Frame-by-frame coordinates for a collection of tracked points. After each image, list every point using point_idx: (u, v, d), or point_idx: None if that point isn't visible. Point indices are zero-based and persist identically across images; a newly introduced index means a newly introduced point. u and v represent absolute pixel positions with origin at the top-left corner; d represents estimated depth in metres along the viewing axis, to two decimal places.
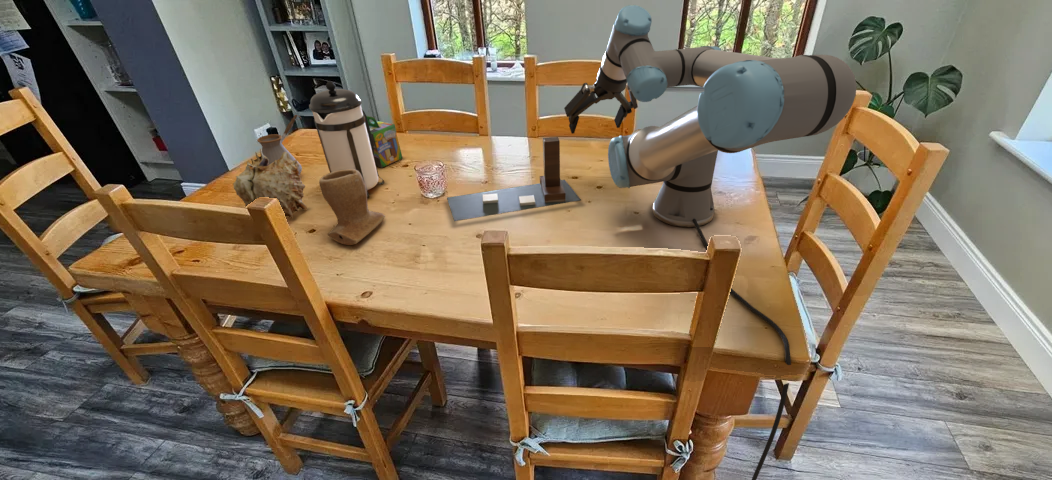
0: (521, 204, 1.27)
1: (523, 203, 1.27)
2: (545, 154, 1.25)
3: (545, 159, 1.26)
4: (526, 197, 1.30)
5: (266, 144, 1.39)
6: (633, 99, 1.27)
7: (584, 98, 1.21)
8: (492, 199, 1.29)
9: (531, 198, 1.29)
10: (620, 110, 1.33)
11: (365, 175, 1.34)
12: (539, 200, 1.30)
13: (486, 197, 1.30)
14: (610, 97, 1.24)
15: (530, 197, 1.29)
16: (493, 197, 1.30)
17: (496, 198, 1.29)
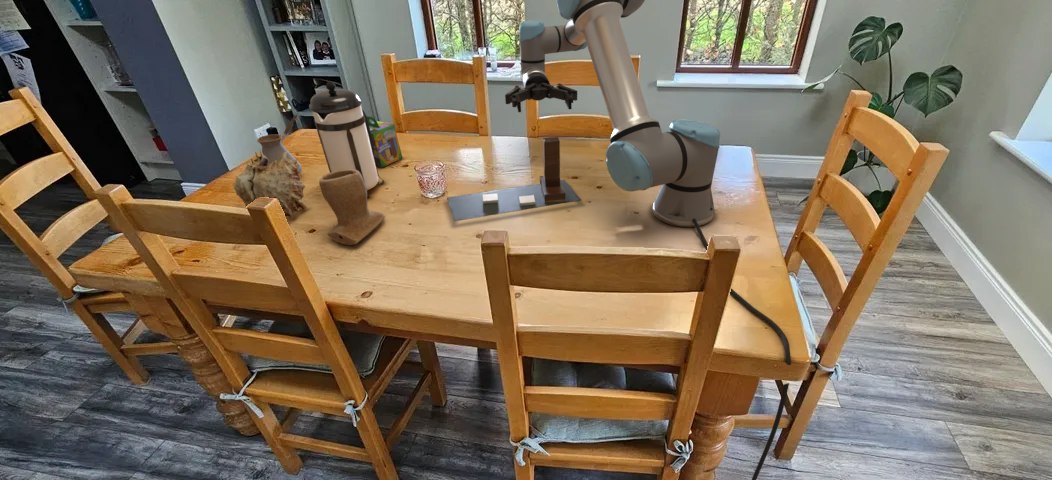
0: (521, 204, 1.27)
1: (523, 203, 1.27)
2: (545, 154, 1.25)
3: (545, 159, 1.26)
4: (526, 197, 1.30)
5: (266, 144, 1.39)
6: (567, 88, 1.38)
7: (516, 88, 1.39)
8: (492, 199, 1.29)
9: (531, 198, 1.29)
10: (565, 100, 1.34)
11: (365, 175, 1.34)
12: (539, 200, 1.30)
13: (486, 197, 1.30)
14: (542, 88, 1.39)
15: (530, 197, 1.29)
16: (493, 197, 1.30)
17: (496, 198, 1.29)
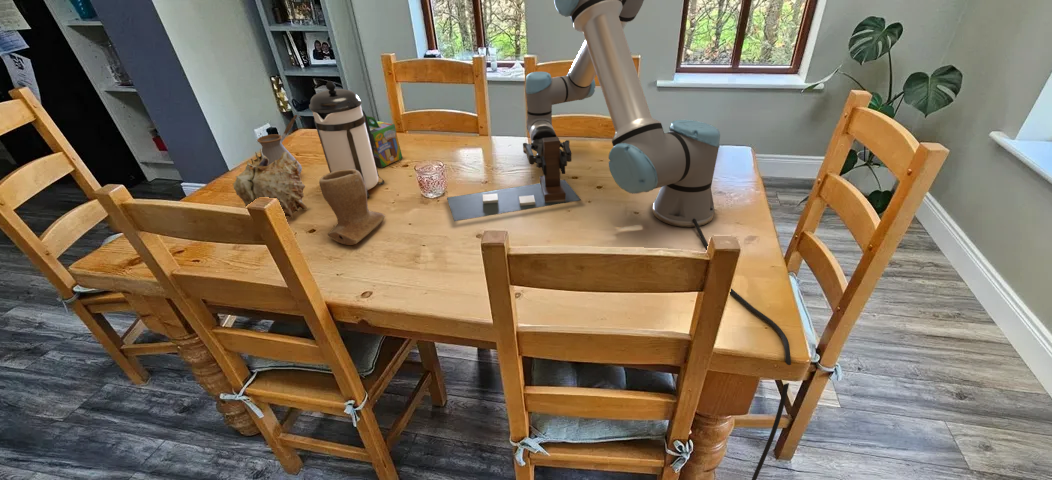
0: (521, 204, 1.27)
1: (523, 203, 1.27)
2: (545, 154, 1.25)
3: (545, 159, 1.26)
4: (526, 197, 1.30)
5: (266, 144, 1.39)
6: (566, 147, 1.33)
7: (528, 146, 1.34)
8: (492, 199, 1.29)
9: (531, 198, 1.29)
10: None
11: (365, 175, 1.34)
12: (539, 200, 1.30)
13: (486, 197, 1.30)
14: None
15: (530, 197, 1.29)
16: (493, 197, 1.30)
17: (496, 198, 1.29)
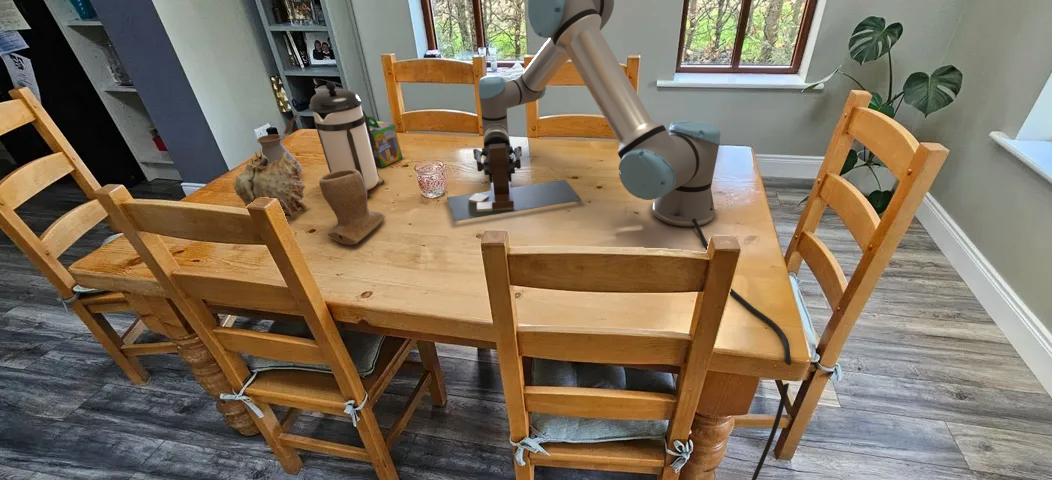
0: (478, 210, 1.25)
1: (480, 209, 1.25)
2: (491, 161, 1.22)
3: (492, 166, 1.23)
4: (484, 203, 1.27)
5: (266, 144, 1.39)
6: (517, 153, 1.30)
7: (478, 152, 1.31)
8: (477, 200, 1.29)
9: (489, 204, 1.27)
10: None
11: (365, 175, 1.34)
12: (539, 200, 1.30)
13: (475, 196, 1.31)
14: None
15: (488, 203, 1.27)
16: (480, 198, 1.29)
17: (481, 200, 1.29)
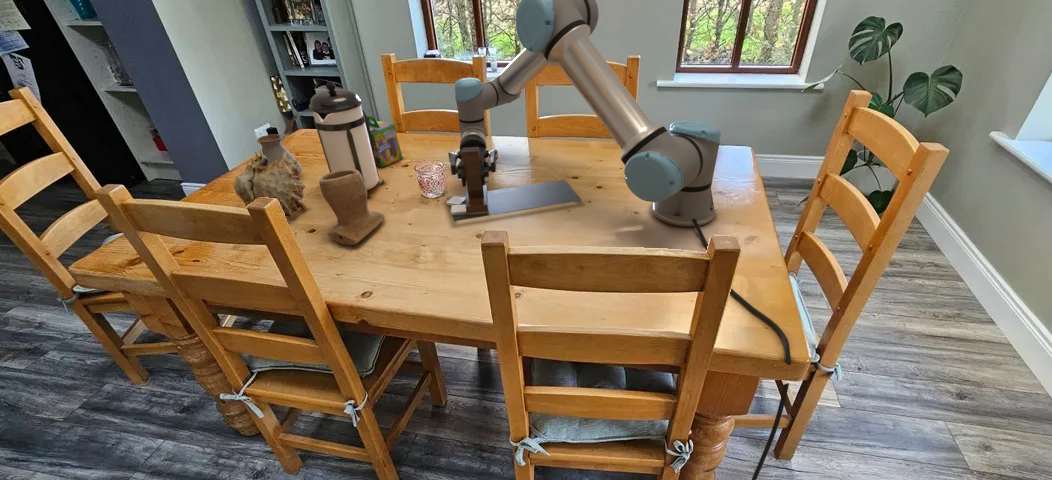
0: (452, 213, 1.24)
1: (454, 212, 1.24)
2: (464, 164, 1.20)
3: (465, 170, 1.21)
4: (458, 206, 1.26)
5: (266, 144, 1.39)
6: (492, 157, 1.28)
7: (452, 155, 1.29)
8: (455, 203, 1.28)
9: (463, 207, 1.26)
10: None
11: (365, 175, 1.34)
12: (539, 200, 1.30)
13: (453, 199, 1.29)
14: None
15: (462, 206, 1.26)
16: (458, 201, 1.28)
17: (460, 202, 1.28)
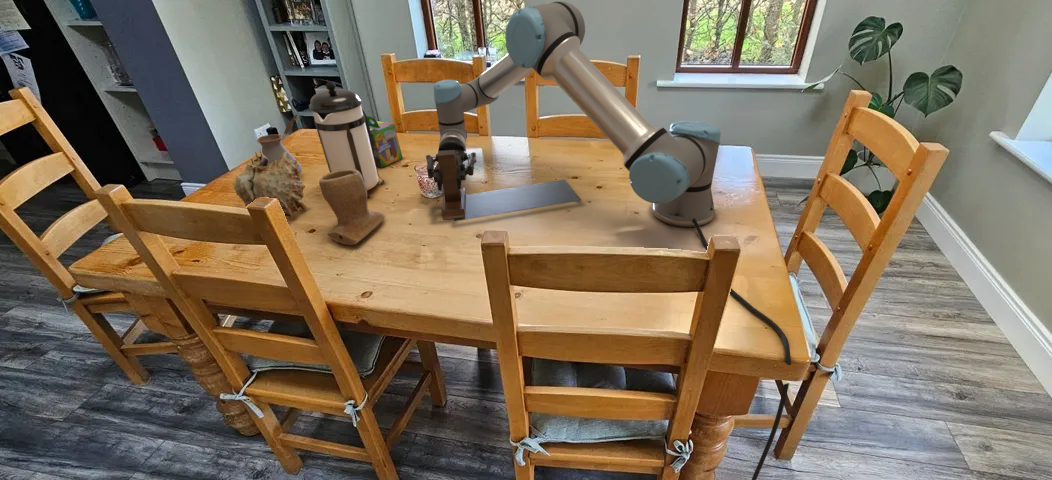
0: None
1: None
2: (440, 168, 1.19)
3: (441, 173, 1.20)
4: None
5: (266, 144, 1.39)
6: (469, 160, 1.27)
7: (430, 158, 1.28)
8: None
9: None
10: None
11: (365, 175, 1.34)
12: (539, 200, 1.30)
13: None
14: None
15: None
16: None
17: None
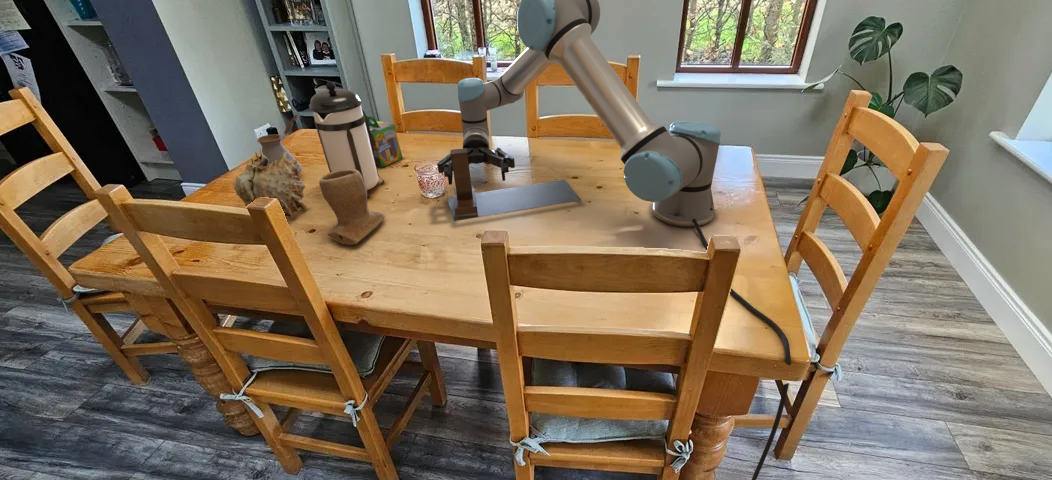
0: None
1: None
2: (453, 166, 1.20)
3: (454, 171, 1.21)
4: None
5: (266, 144, 1.39)
6: (504, 154, 1.30)
7: None
8: None
9: None
10: None
11: (365, 175, 1.34)
12: (539, 200, 1.30)
13: None
14: (478, 153, 1.31)
15: None
16: None
17: None
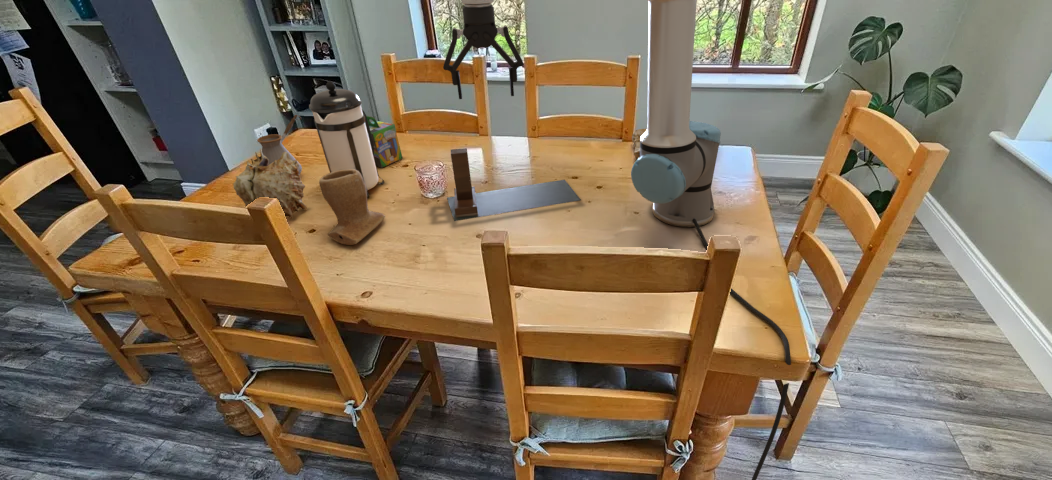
0: None
1: None
2: (453, 166, 1.20)
3: (454, 171, 1.21)
4: None
5: (266, 144, 1.39)
6: (513, 50, 1.22)
7: (454, 41, 1.19)
8: None
9: None
10: (509, 73, 1.26)
11: (365, 175, 1.34)
12: (539, 200, 1.30)
13: None
14: (484, 44, 1.20)
15: None
16: None
17: None
